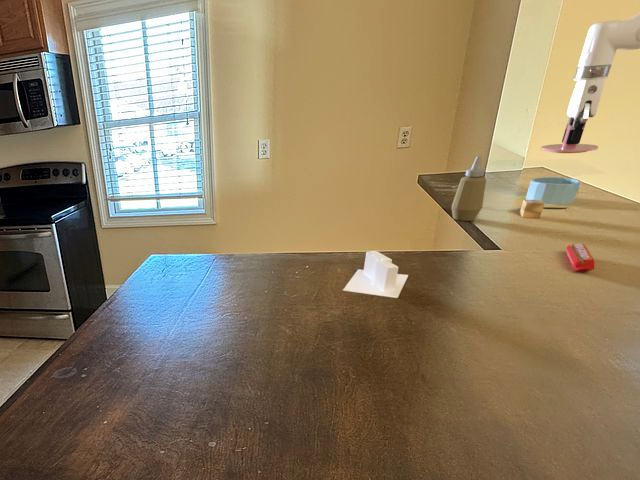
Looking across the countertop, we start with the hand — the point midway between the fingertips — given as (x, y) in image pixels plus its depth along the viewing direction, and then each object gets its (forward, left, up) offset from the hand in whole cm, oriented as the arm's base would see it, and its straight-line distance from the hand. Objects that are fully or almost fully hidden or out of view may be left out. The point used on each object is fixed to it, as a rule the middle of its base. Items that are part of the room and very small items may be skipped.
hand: (570, 142), depth 146 cm
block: (+8, +16, -19) cm, 26 cm away
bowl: (0, 0, -19) cm, 19 cm away
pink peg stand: (0, 0, -2) cm, 2 cm away
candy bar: (+7, +61, -19) cm, 64 cm away
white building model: (+50, +83, -19) cm, 98 cm away
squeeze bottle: (+26, +22, -19) cm, 39 cm away
